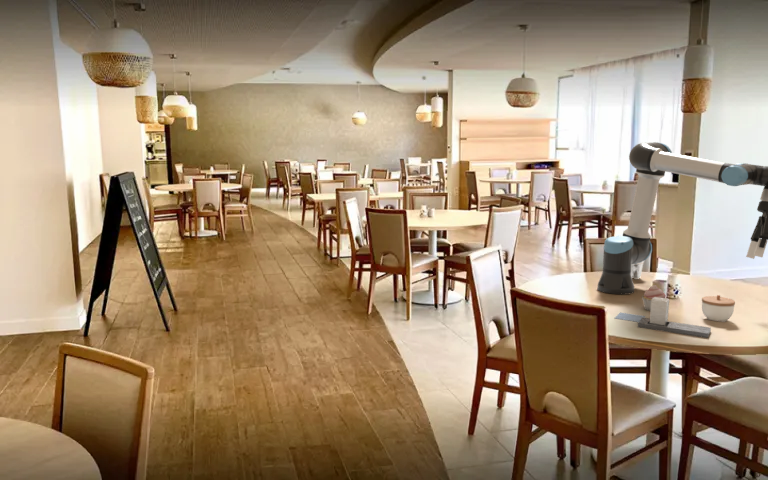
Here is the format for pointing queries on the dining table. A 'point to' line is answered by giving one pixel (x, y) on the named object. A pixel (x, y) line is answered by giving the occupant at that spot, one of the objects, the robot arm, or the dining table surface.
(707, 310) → the lidded jar
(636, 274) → the cup with straw
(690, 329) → the rail
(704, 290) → the dining table surface
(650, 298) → the cupcake
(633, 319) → the mat
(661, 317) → the nut block
